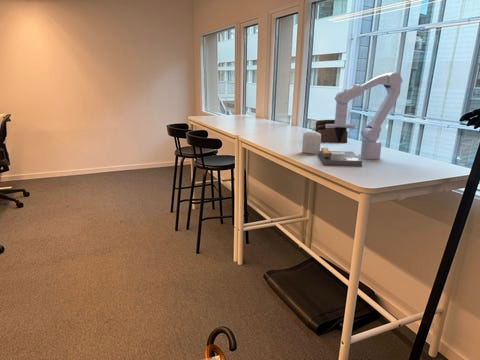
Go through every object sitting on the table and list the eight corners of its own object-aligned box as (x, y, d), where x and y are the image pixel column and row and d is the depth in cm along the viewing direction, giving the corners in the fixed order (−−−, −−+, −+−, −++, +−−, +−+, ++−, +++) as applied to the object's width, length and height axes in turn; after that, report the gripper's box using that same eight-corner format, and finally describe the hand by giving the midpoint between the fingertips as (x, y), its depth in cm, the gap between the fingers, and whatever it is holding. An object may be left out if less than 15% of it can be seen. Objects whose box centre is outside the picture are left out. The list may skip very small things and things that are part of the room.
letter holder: (314, 140, 232) (315, 119, 228) (344, 140, 230) (346, 119, 226) (316, 142, 222) (317, 121, 218) (347, 143, 220) (349, 121, 216)
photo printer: (321, 153, 189) (322, 131, 186) (318, 155, 186) (319, 132, 182) (303, 151, 195) (305, 130, 191) (300, 152, 191) (302, 131, 188)
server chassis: (352, 156, 183) (352, 151, 182) (361, 166, 162) (362, 160, 161) (318, 155, 185) (318, 150, 184) (323, 165, 164) (324, 160, 163)
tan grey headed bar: (320, 151, 181) (320, 147, 181) (327, 151, 181) (327, 147, 180) (324, 157, 167) (324, 153, 167) (331, 157, 167) (331, 153, 166)
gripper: (353, 115, 176) (351, 140, 180) (325, 114, 178) (323, 140, 182) (356, 116, 169) (354, 143, 173) (327, 116, 171) (325, 142, 175)
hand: (338, 142), depth 177 cm, fingers closed
